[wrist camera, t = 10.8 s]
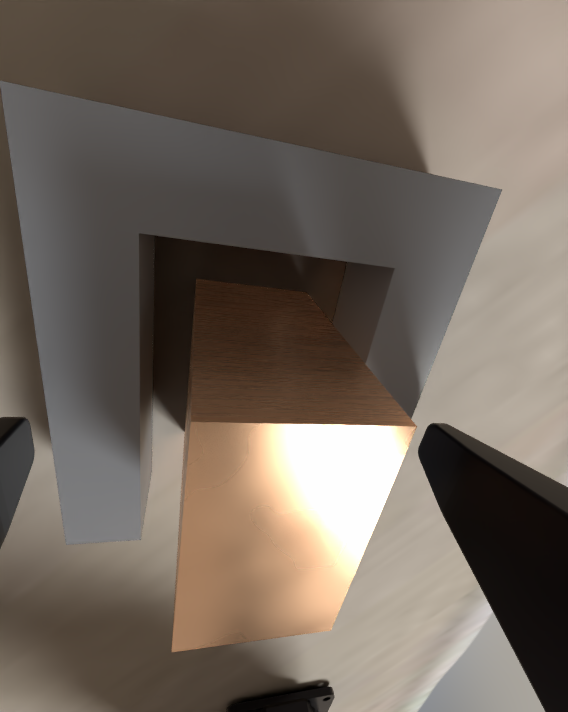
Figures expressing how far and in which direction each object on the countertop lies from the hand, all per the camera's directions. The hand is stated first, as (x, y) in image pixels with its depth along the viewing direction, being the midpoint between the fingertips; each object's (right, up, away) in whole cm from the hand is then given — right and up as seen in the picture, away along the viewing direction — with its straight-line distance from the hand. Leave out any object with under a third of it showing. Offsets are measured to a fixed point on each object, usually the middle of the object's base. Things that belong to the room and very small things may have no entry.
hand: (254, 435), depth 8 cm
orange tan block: (-1, +1, +3) cm, 3 cm away
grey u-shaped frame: (-1, +1, +3) cm, 3 cm away
